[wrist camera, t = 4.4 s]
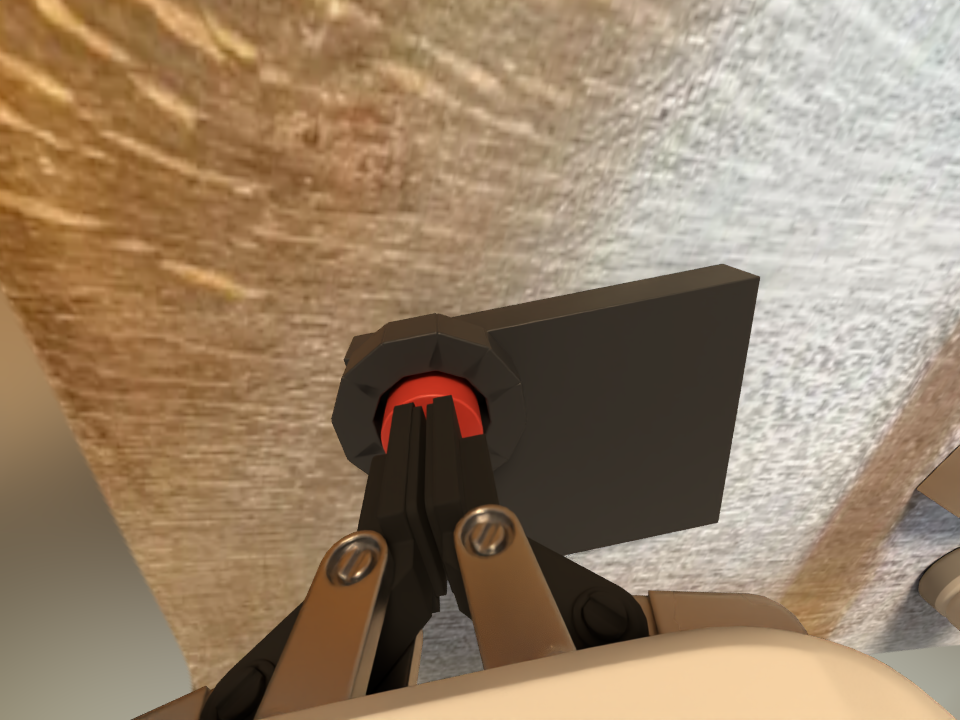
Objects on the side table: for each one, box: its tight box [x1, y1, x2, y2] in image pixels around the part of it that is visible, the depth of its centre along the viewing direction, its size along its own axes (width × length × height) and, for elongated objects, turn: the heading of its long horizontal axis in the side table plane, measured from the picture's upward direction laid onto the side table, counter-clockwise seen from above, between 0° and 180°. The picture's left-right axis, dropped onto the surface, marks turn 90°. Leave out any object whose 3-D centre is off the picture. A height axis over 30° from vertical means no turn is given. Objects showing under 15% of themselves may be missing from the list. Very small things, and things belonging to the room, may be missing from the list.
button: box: [381, 371, 483, 453], centre depth 12 cm, size 3×3×2 cm
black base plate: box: [331, 264, 760, 580], centre depth 15 cm, size 14×13×4 cm
